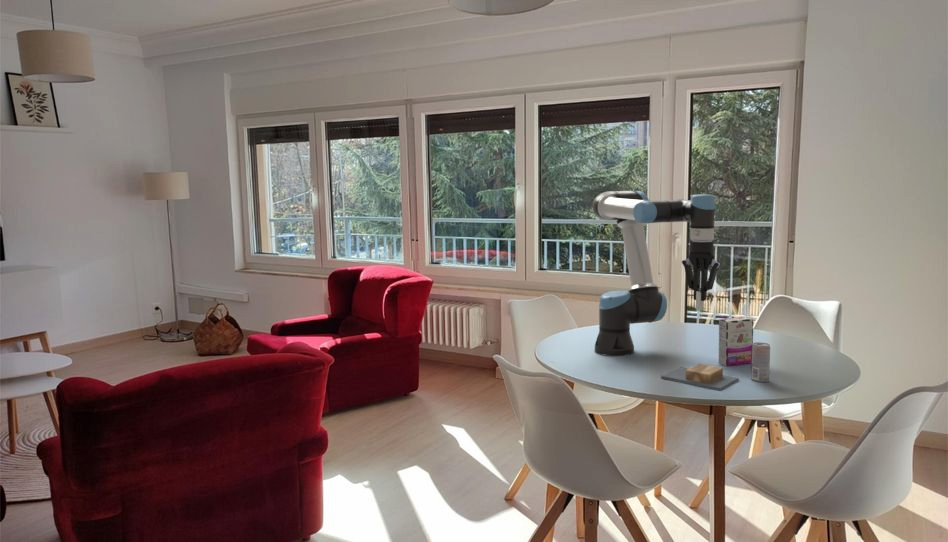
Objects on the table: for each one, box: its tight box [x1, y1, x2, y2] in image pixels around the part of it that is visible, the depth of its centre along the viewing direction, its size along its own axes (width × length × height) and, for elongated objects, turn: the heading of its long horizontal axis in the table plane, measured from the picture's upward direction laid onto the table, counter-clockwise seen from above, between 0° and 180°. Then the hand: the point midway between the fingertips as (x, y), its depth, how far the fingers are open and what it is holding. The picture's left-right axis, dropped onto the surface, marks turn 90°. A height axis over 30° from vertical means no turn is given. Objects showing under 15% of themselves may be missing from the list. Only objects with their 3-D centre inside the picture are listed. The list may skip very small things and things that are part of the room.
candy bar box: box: [718, 316, 754, 367], centre depth 224 cm, size 11×5×16 cm, turn 105°
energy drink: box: [750, 342, 771, 383], centre depth 204 cm, size 5×5×12 cm
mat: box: [661, 366, 740, 391], centre depth 207 cm, size 20×14×1 cm
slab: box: [686, 363, 724, 384], centre depth 205 cm, size 3×10×8 cm
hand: (699, 309), depth 213 cm, fingers closed
